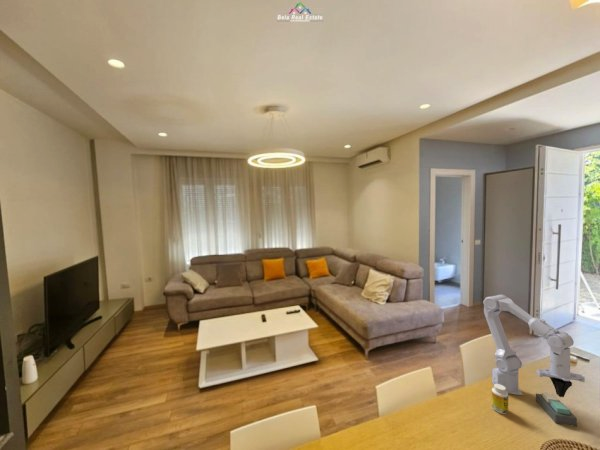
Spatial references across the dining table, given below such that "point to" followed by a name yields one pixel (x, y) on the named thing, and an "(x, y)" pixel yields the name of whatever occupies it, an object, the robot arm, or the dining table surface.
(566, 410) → the key teal
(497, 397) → the supplement bottle
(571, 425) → the board
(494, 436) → the dining table surface
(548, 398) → the key cream
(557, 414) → the bezel
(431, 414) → the dining table surface
